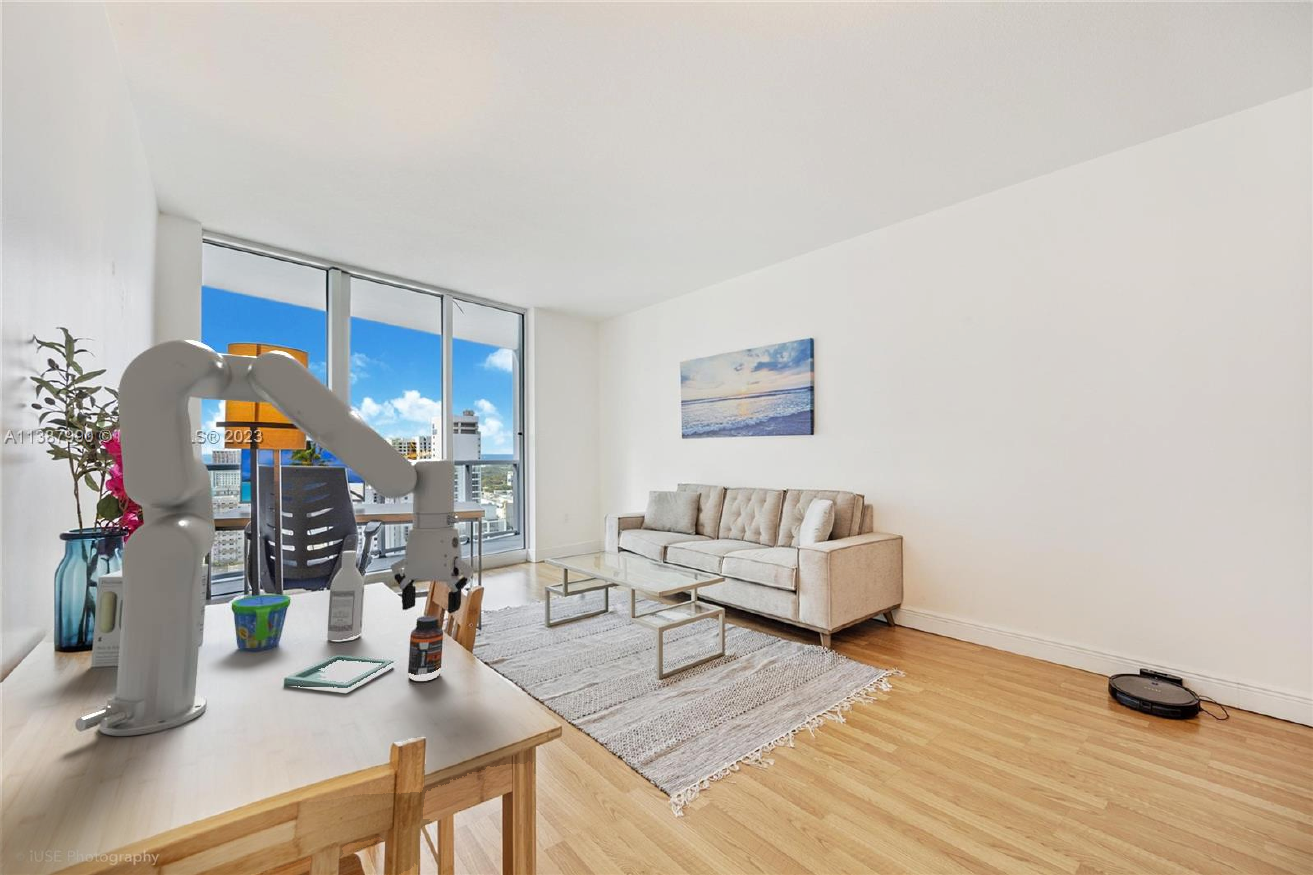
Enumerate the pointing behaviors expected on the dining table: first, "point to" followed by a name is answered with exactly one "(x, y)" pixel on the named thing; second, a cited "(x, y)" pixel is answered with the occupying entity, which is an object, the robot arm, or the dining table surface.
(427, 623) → the supplement bottle
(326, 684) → the tray
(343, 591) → the bath foam
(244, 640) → the snack cup
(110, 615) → the supplement box
